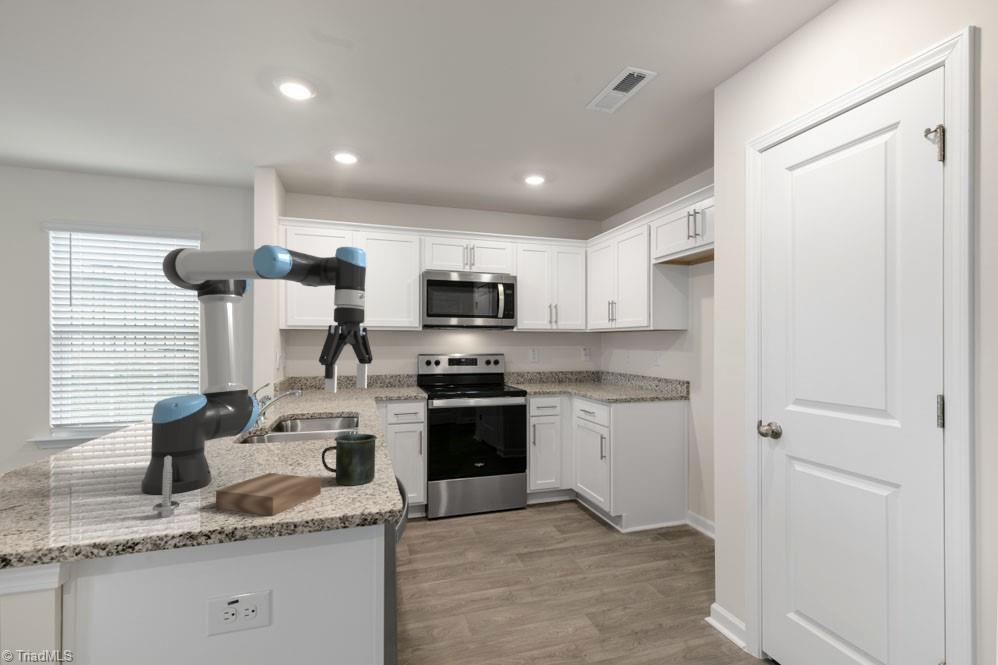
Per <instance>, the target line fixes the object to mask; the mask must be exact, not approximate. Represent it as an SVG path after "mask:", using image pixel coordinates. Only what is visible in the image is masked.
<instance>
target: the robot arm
mask: <svg viewBox="0 0 998 665" xmlns="http://www.w3.org/2000/svg"><path fill="white" fill-rule="evenodd" d="M334 255H335V256H330V257H329V256H328V257H325V256H324V257H323V256H322V257H320V256H315V255H312V254H308V253H304V252H300V251H297V250H293V249H288V248H285V247H282V246H279V245H272V244H263V245H261V246H260V247H259V248H255V249H231V250H230V249H229V250H207V251H205V250H201V249H198V248H194V247H181V248H175V249H173V250H171V251H169V252H168V253H167V254H166V255H165V256H164V259H163V261H162V271H163V274H164V276H165V278H166V279H167V280H168V281H169V282H170V283H171V284H173V285H174V286H176V287H178V288H181V289H182V290H189V291H195V292H196V291H197V293H196V294H197V295H196V296H197V300H198V302H200V303H201V304H202V305H203V307H204V308H203V311H204V328H205V331H204V332H205V346H206V349H205V350H206V366H207V367H206V368H207V369H206V370H207V385H208V386H207V387H206V389H204V390H203V392H202V393H201V394H200V393H199V394H194V393H193V394H185V395H177V396H172V397H168V398H164V399H161V400H159V401H158V402H156V403H155V404H154V405H153V409H152V416H151V423H152V424H151V452H150V453H151V454H150V455H151V456H150V460H149V463H148V466H147V469H146V471H145V474H144V477H143V479H142V481H141V492H142V493H144V494H150V495H163V493H162V492H163V490H162V489H163V485H162V484H163V482H162V481H163V474H162V473H163V470H164V468H163V467H164V458H165V457H166V456H171V457H172V463H171V467H172V470H173V471H172V473H173V474H172V476H173V477H172V483H171V484H172V485H171V486H172V488H171V489H172V491H171V492H172V493H171V494H177V493H184V492H189V491H193V490H194V491H195V490H197V489H198V490H199V489H200V488H203V487H206V486H208V485H209V484H211V482H212V472H211V470H210V467H209V464H208V461H207V458H206V454H205V445H206V441H212V440H217V439H223V438H228V437H230V438H231V437H236V436H238V435H242V434H245V433H247V432H249V431H250V430H251V429H252V428H253V427H254V426H255V424H256V422H257V420H258V417H259V404H258V401H257V400H256V398H255V397H254V396H253V395H250V394H249V388H248V387H247V386H245V385H244V384H243V379H242V378H243V376H242V365H241V364H242V362H241V344H240V342H241V341H240V329H239V327H240V326H239V311H238V310H239V309H238V308H239V307H238V306H239V304H240V302H242V301H243V299H244V295H245V294H247V292H248V291H249V287H250V286H251V280H275V281H276V280H283V281H290V282H296V283H300V284H301V285H302V286H305V287H314V288H317V287H327V286H328V287H329V286H334V297H333V301H334V302H333V305H334V307H335V308H334V309H333V322H335V323H337V324H329V325H328V330H327V336H326V338H325V341H324V344H323V347H322V349H321V352H320V353H321V354H320V356H319V358H318V362H319V363H320V365H321V366H324V378H325V380H324V381H325V382H324V393H334V394H335V393H337V385H338V380H337V379H338V365H336V363H337V361H338V359H339V357H340V355H341V353H342V352H343V350H344V348H345V346H347V345H348V344H349V345H350V346H351V347H352V350H353V352H354V354H355V356H356V359H357V361H358V363H357V364H356V383H355V384H356V385H355V386H356V388H357V389H367V386H368V385H367V384H368V364H369V365H371V364H372V363H373V362H372V361H373V355H372V350H371V346H370V342H369V337H368V328H367V327H364V326H363V327H361V324H363V323H364V322H365V310H364V309H363V308H365V301H366V300H365V298H366V288H365V287H366V272H367V261H366V260H367V258H366V251H364V249H362V248H358V247H355V246H340V247H337V248H336V250H335V254H334Z"/></svg>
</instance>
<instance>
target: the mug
mask: <svg viewBox="0 0 998 665" xmlns="http://www.w3.org/2000/svg"><path fill="white" fill-rule="evenodd" d="M377 439H378V437H377V436H376V435H375V434H368V433H353V434H352V433H351V434H344V435H340V436H339V435H338V436H337V437H335V438H334V441H335V444H336V445H333V446H329V447H328V446H327V447H325V448H324V449H323V451H322V453H321V463H322V465H323V467H324V469H325V470H327V471H328V472H330V473H334V474H335V482H336V483H337V484H339V485H342V486H358V485H366V484H368V483H371V482H373V480H374V479H375V475H376V474H375V473H376V472H375V471H376V466H375V465H376V440H377ZM334 450H335V468H332V467H330V466H329V465H328V463H327V462H326V460H325V459H326V457H325V455H326V453H327V452H330V451H334Z"/></svg>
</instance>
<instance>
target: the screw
mask: <svg viewBox="0 0 998 665" xmlns="http://www.w3.org/2000/svg"><path fill="white" fill-rule="evenodd" d="M171 463H172V457H171V456H166V457H165V458H164V467H163V468H164V470H163V473H162V474H163V481H162V482H163V484H162V485H163V489H162V490H163V492H162V493H163V494H161V496H162V497H161V502H159V503H157V504H155V505H154V506H153V507H152V511H154V512H157V516H158V518H163V519H164V518H168V517H171V516H173V515H174V514H175V509H178V508H179V507H180V506H181V503H180V502H178V501H175V500H172V499H173V498H172V496H173V493H172V492H171V491H172V489H171V488H172V486H171V485H172V484H171V483H172V477H173V476H172V474H173V473H172V471H173V470H172V467H171Z"/></svg>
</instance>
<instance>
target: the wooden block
mask: <svg viewBox="0 0 998 665" xmlns="http://www.w3.org/2000/svg"><path fill="white" fill-rule="evenodd" d="M321 486H322V478H321V477H315V476H314V477H313V476H303V475H302V476H301V475H295V474H293V475H292V474H283V473H273V472H267V473H264V474H261V475H259V476H255V477H252V478H250V479H247V480H243V481H240V482H237V483H233V484H231V485H228V486H225V487H222V488H219V489H216V490H215V509H219V510H226V511H234V512H242V513H247V514H248V513H249V514H255V515H262V516H263V515H265V516H271V517H274V516H276V515H278V514H280V513H282V512H284V511H287V510H289V509H292V508H293V507H296V506H298V505H300V504H302V503H304V502H307V501H308V500H311V499H313V498H316V497H318V496H320V495H321V494H322V493H321V491H322V490H321V488H322V487H321Z"/></svg>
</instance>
